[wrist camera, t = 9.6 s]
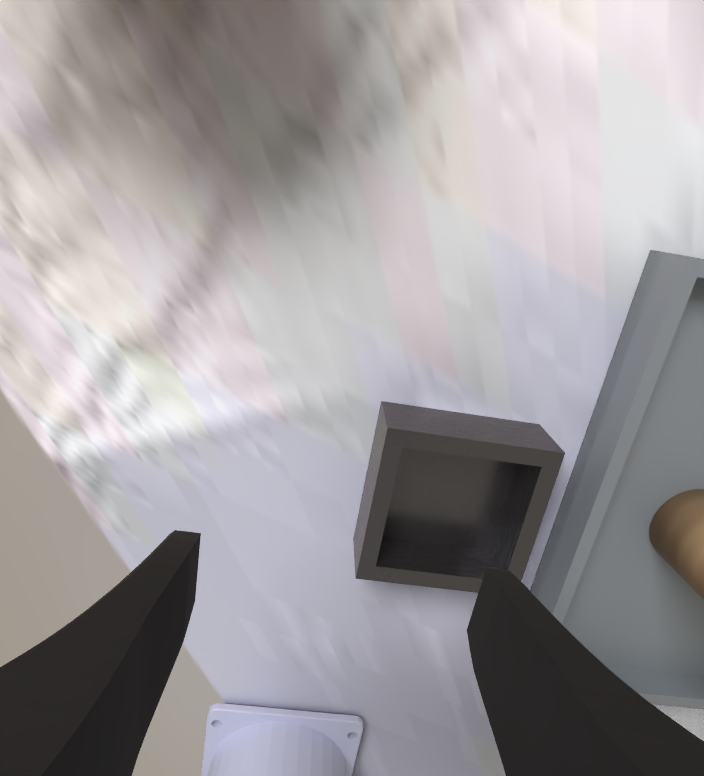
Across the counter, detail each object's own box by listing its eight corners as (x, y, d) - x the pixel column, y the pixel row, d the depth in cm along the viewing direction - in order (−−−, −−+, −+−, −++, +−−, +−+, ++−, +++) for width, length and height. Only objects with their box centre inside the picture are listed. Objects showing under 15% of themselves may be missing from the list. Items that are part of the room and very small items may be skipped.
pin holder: (497, 556, 24) (515, 596, 22) (353, 539, 24) (355, 578, 21) (539, 424, 22) (564, 453, 20) (381, 401, 22) (387, 427, 19)
